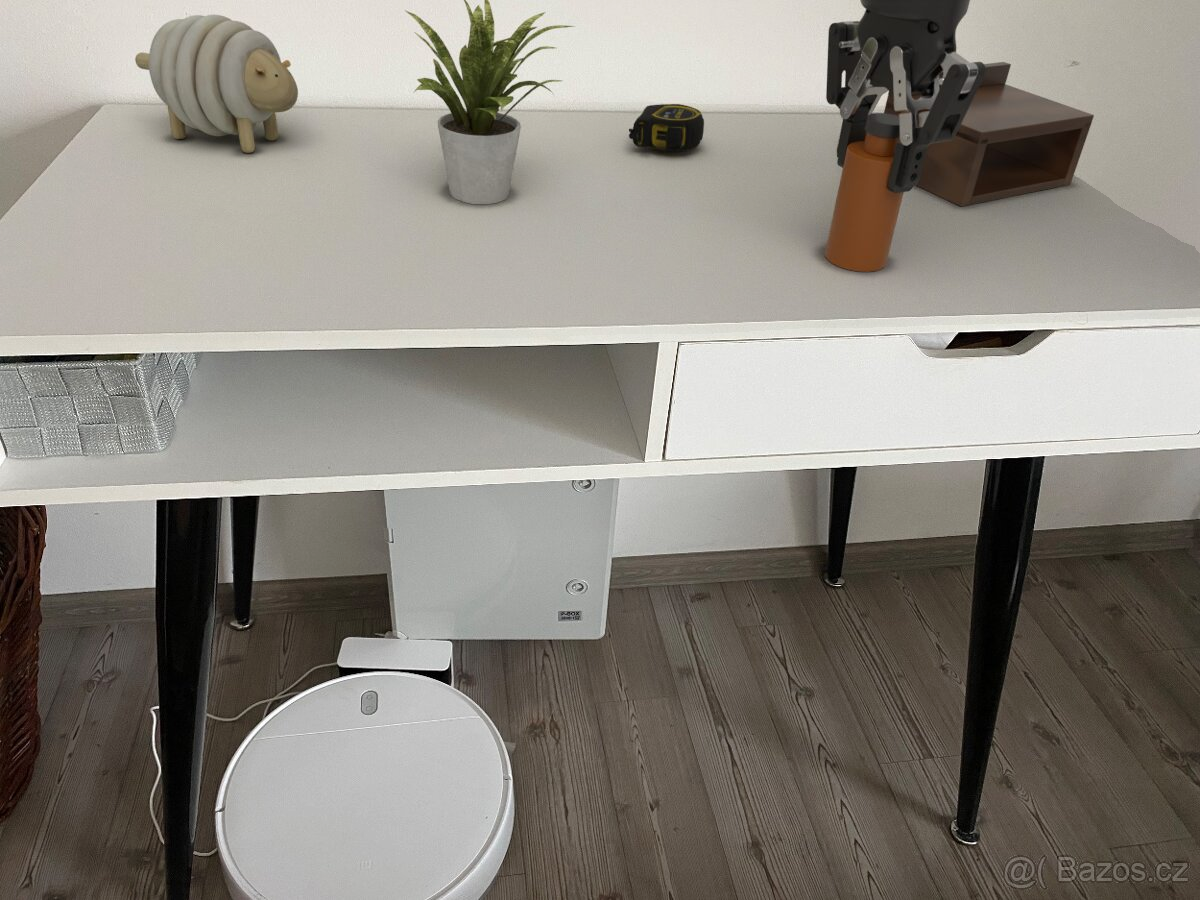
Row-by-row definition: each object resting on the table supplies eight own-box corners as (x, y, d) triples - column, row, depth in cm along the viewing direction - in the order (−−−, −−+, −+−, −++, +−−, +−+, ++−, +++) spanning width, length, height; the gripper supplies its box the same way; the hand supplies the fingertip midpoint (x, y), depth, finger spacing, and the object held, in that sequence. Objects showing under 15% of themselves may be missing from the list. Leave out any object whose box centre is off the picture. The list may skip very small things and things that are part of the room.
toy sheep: (274, 168, 91) (258, 39, 85) (109, 141, 94) (82, 14, 88) (329, 134, 100) (319, 15, 93) (176, 110, 103) (156, -8, 96)
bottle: (898, 265, 83) (934, 125, 76) (853, 276, 81) (886, 132, 74) (856, 242, 86) (887, 106, 80) (812, 251, 84) (840, 112, 77)
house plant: (600, 215, 87) (614, 14, 78) (452, 240, 81) (448, 24, 72) (523, 161, 97) (528, -23, 88) (386, 179, 91) (376, -17, 82)
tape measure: (643, 133, 107) (646, 97, 105) (707, 143, 105) (711, 106, 103) (626, 152, 101) (630, 115, 99) (693, 163, 100) (698, 125, 98)
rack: (1070, 184, 102) (1101, 94, 97) (960, 206, 95) (988, 110, 90) (979, 147, 111) (1003, 61, 105) (871, 164, 103) (892, 74, 98)
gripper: (1048, -43, 67) (976, 204, 76) (893, -79, 76) (846, 144, 86) (969, -40, 63) (904, 218, 73) (818, -78, 73) (778, 154, 83)
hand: (873, 177), depth 80 cm, fingers closed on bottle, 5 cm apart
